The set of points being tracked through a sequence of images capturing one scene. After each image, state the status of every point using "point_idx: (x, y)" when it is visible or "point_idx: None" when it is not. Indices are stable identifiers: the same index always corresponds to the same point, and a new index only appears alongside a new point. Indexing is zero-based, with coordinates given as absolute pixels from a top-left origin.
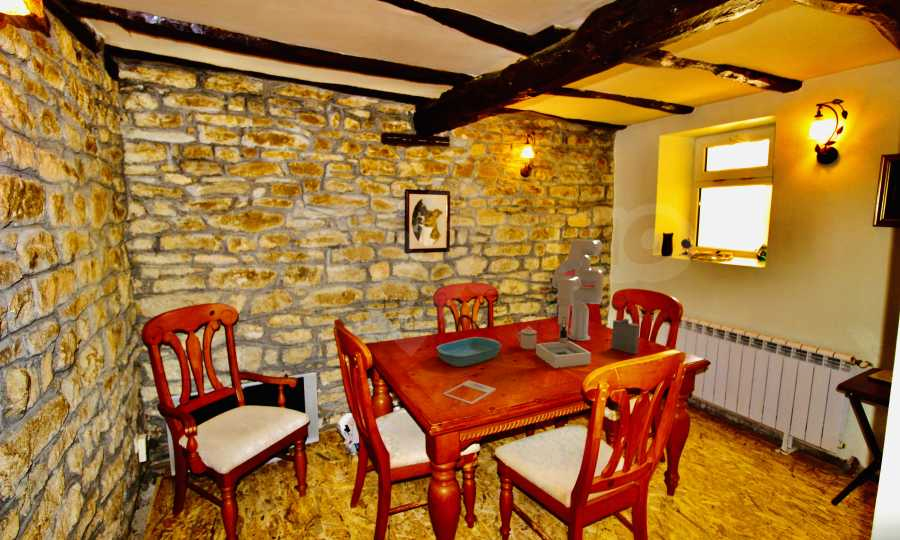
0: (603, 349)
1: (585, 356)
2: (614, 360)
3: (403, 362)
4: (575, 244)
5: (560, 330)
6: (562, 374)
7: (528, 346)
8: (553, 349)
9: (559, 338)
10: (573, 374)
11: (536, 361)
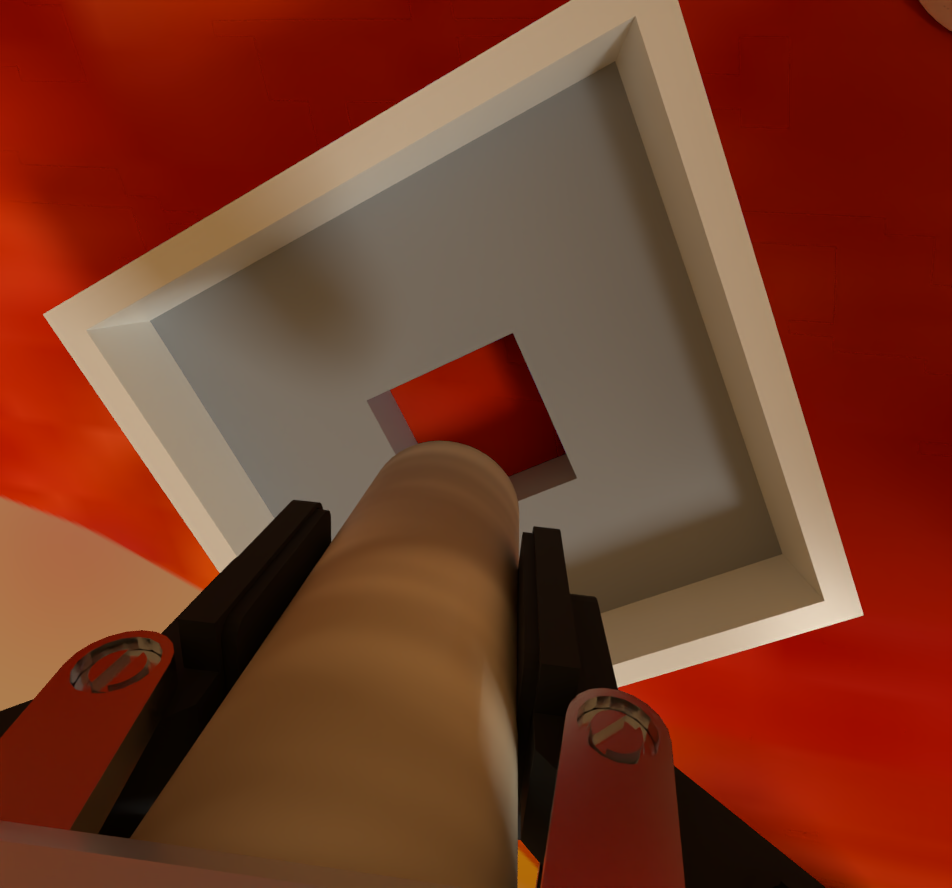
0: (843, 849)
1: None
2: (529, 851)
3: None
4: None
5: (186, 614)
6: (20, 368)
7: None
8: (648, 328)
9: (404, 473)
10: (67, 474)
11: (328, 54)
